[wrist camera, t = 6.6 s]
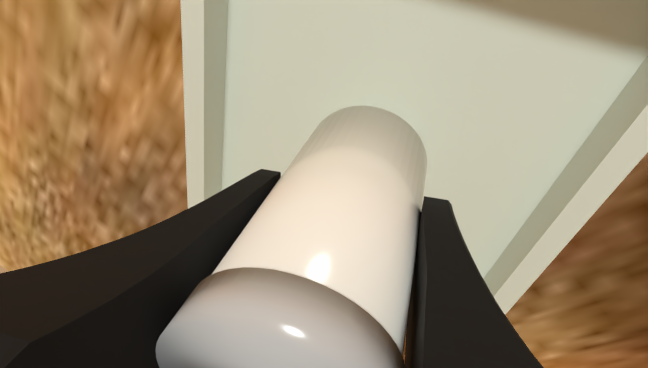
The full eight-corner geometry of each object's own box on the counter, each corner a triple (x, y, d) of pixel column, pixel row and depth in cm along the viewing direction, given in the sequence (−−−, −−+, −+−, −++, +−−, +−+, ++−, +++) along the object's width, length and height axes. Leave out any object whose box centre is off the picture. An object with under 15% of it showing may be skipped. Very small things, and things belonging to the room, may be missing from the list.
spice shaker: (435, 103, 11) (402, 357, 4) (426, 218, 13) (395, 494, 7) (298, 100, 12) (118, 296, 6) (312, 206, 14) (195, 429, 8)
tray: (731, -37, 9) (804, -27, 7) (471, 306, 18) (472, 351, 16) (225, -161, 11) (174, -180, 9) (215, 210, 20) (189, 241, 18)
